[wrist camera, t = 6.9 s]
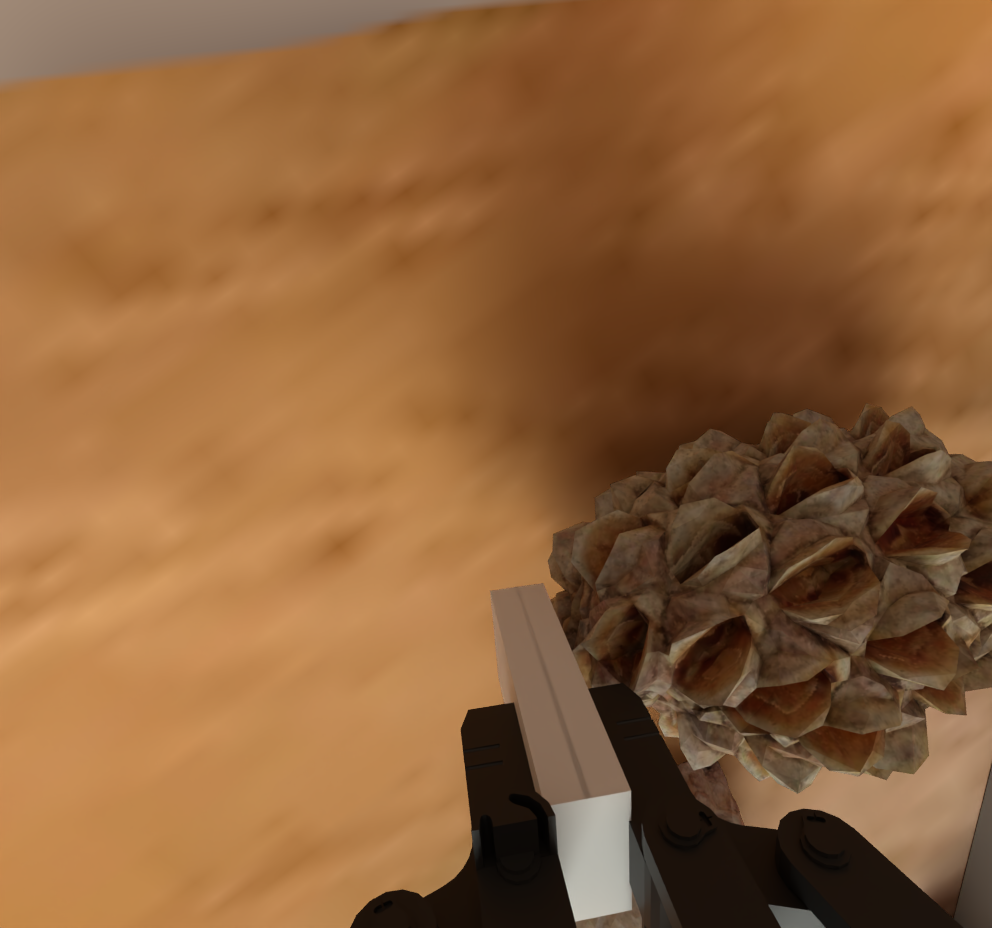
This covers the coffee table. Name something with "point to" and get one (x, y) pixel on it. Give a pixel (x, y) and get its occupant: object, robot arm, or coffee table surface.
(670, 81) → the coffee table surface
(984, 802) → the end rail
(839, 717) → the pine cone
